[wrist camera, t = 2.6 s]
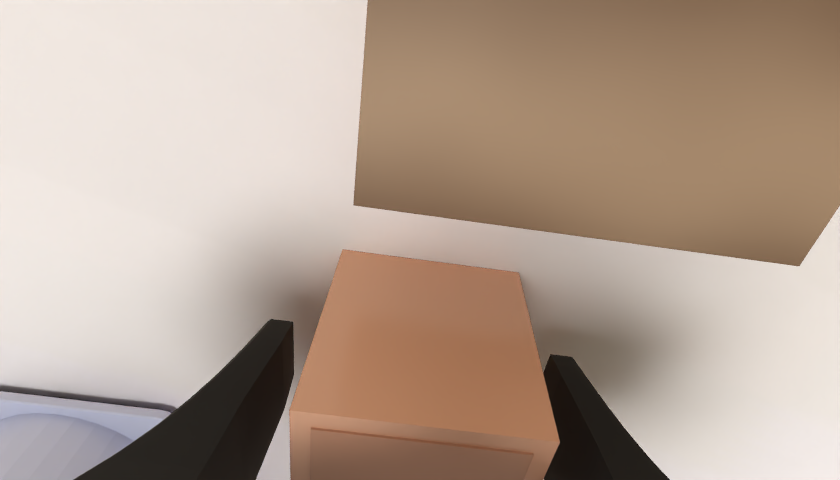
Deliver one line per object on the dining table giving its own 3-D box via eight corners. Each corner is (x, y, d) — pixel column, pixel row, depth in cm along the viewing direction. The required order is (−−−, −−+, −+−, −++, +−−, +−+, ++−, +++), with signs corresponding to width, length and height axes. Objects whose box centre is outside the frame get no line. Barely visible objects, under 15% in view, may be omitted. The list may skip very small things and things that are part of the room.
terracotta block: (483, 391, 16) (501, 575, 11) (335, 373, 16) (291, 552, 11) (518, 271, 13) (560, 444, 9) (342, 248, 13) (288, 412, 9)
